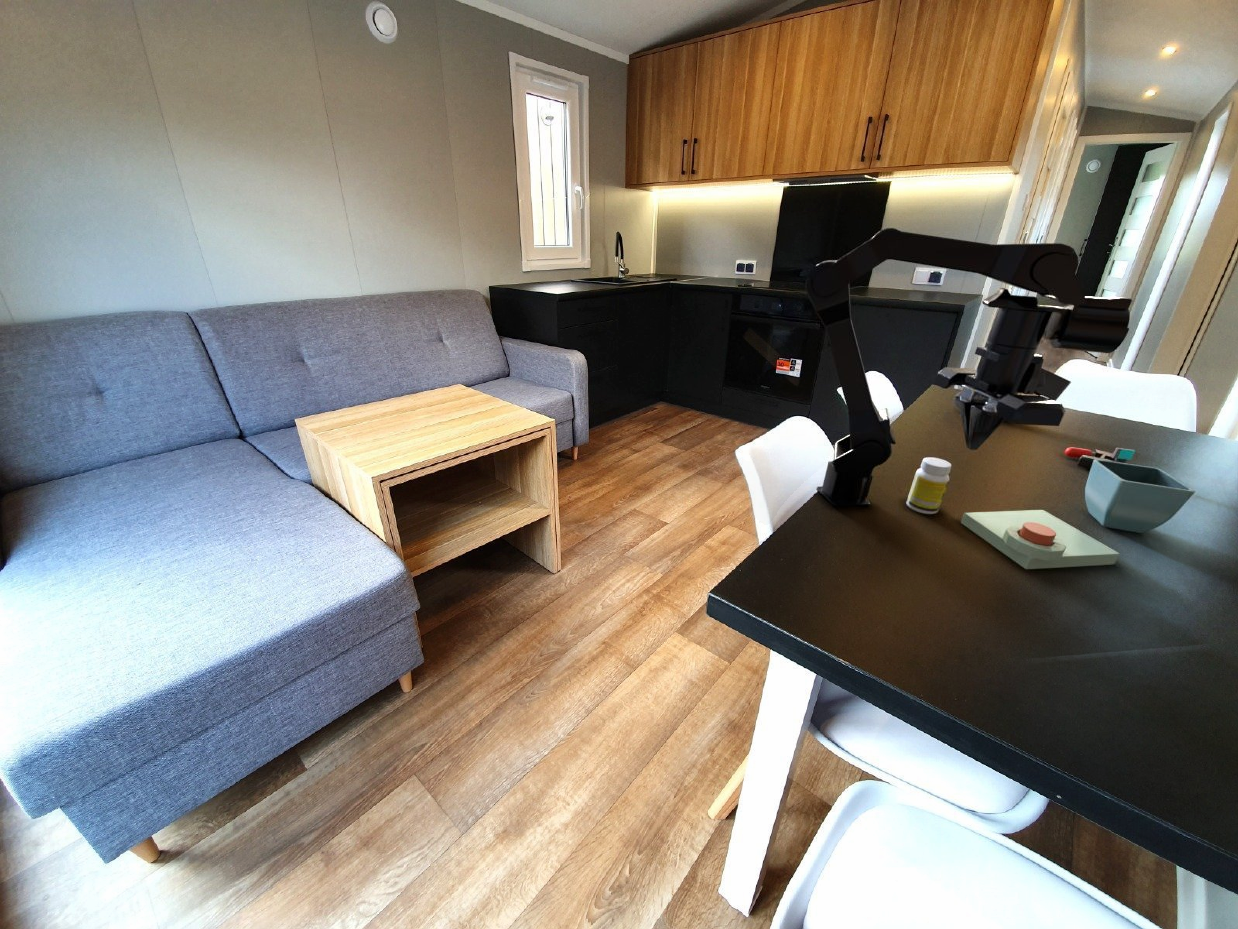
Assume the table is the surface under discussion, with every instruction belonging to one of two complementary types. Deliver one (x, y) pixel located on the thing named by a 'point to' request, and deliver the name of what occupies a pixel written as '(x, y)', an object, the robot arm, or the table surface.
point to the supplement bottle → (929, 485)
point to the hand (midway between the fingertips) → (971, 448)
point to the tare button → (1037, 533)
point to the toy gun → (1098, 455)
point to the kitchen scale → (1062, 552)
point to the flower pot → (1133, 495)
